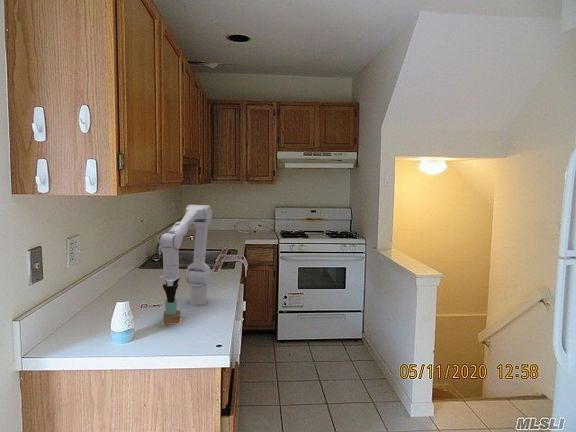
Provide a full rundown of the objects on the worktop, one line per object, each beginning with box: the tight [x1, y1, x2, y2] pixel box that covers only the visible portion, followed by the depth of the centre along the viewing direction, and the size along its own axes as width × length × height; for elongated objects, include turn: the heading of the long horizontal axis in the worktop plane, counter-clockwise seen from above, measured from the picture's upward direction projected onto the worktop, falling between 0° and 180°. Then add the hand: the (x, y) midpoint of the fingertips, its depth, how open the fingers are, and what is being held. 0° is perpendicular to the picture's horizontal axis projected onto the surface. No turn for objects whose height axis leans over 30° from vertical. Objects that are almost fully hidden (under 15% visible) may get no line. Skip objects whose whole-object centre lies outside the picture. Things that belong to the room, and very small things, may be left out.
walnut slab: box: [162, 309, 181, 325], centre depth 153 cm, size 6×6×3 cm
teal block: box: [164, 298, 178, 315], centre depth 152 cm, size 4×4×5 cm
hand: (171, 299), depth 152 cm, fingers open, 7 cm apart
